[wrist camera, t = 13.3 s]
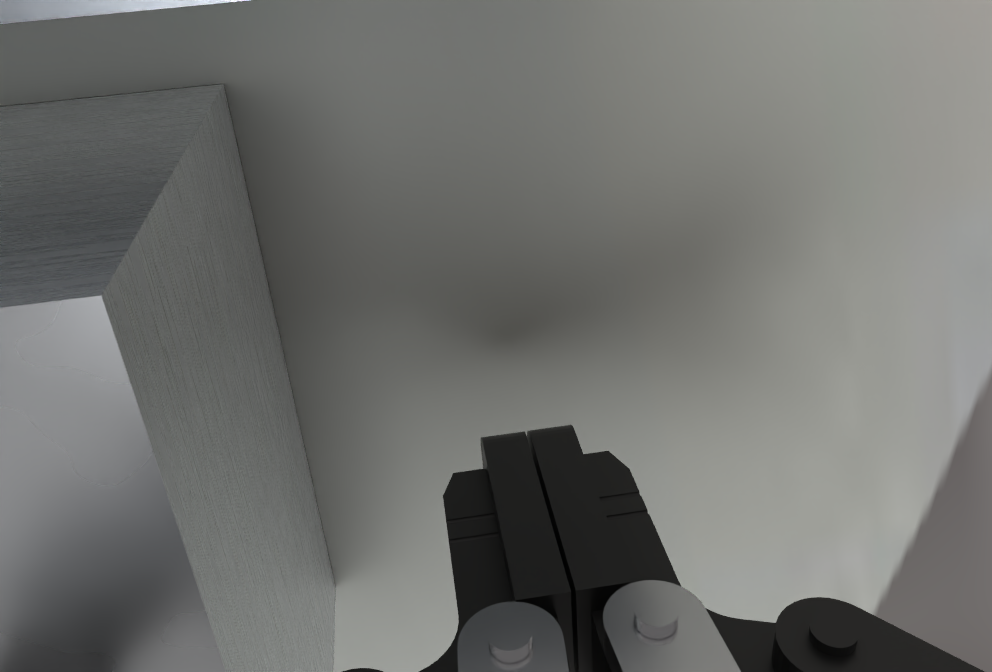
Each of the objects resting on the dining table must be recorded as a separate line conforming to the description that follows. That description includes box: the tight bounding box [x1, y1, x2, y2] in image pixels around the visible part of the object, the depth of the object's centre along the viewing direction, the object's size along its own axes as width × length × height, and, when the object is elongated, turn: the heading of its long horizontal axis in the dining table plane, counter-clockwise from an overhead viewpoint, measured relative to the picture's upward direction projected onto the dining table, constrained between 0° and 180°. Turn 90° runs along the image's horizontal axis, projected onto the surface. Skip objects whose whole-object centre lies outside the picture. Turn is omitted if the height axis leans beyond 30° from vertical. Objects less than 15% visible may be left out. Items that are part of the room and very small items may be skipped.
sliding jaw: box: [0, 84, 336, 672], centre depth 12 cm, size 6×12×12 cm, turn 4°
